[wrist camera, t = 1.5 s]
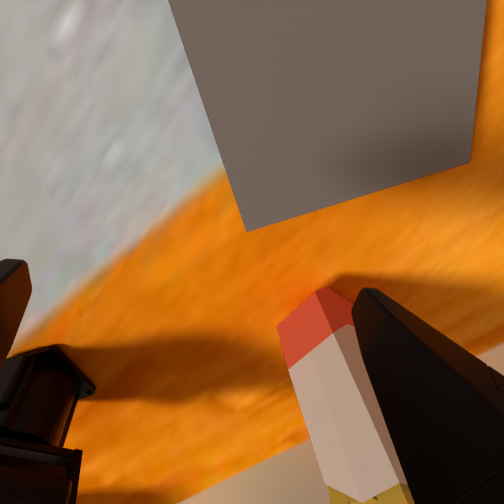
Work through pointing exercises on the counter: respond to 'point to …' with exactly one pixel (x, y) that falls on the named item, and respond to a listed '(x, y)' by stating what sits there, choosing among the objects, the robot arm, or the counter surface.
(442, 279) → the counter surface
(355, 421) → the french fries container
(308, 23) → the charcoal mat
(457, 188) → the counter surface
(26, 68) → the counter surface
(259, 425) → the counter surface
